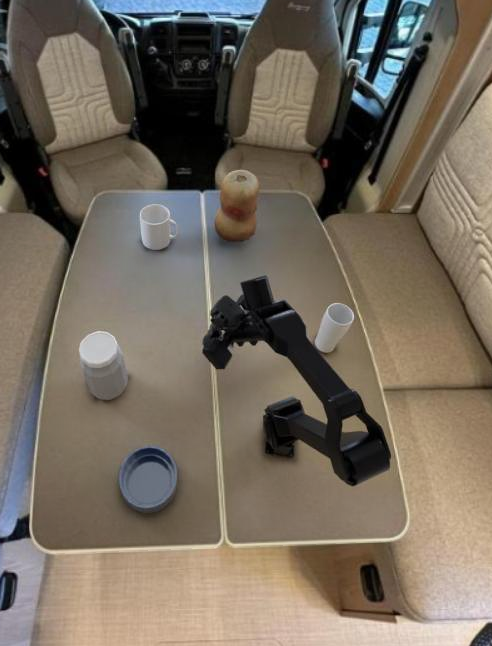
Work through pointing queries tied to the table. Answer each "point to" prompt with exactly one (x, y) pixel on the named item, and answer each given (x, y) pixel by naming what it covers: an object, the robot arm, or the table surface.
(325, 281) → the table surface
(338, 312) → the drinking glass
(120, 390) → the jar
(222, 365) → the robot arm
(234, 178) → the butternut squash
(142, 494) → the bowl
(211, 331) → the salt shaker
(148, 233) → the mug
